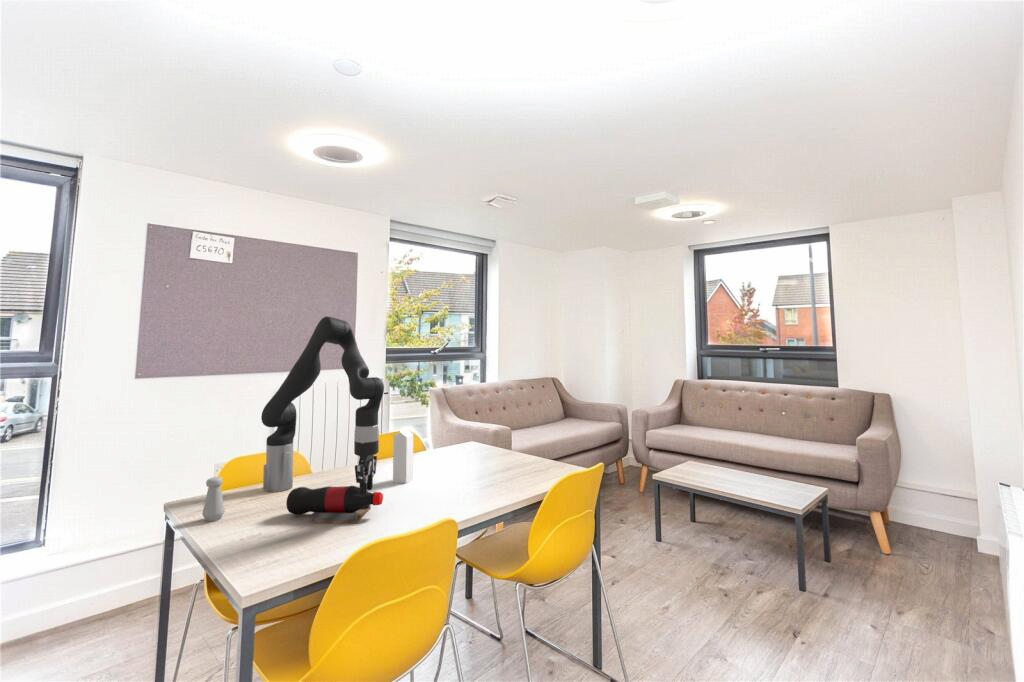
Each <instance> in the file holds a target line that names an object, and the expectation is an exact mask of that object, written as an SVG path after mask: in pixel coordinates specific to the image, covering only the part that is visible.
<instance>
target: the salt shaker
mask: <svg viewBox="0 0 1024 682" xmlns="http://www.w3.org/2000/svg"><path fill="white" fill-rule="evenodd" d="M223 481H224V480H223V478H222V477H220V476H216V477H215V476H214V477H210V478H208V479H207V480H206V483H205V486H206V487H207V493H206V496H205V501H204V506H203V510H202V516H203V518H204V520H205V522H208V523H211V522H212V523H213V522H217V521H219V520H222V517H223V515H224V514H225V511H226V509H225V505H224V503H225V502H224V499H223V495H222V490H221V486H222V485H223Z"/></svg>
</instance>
